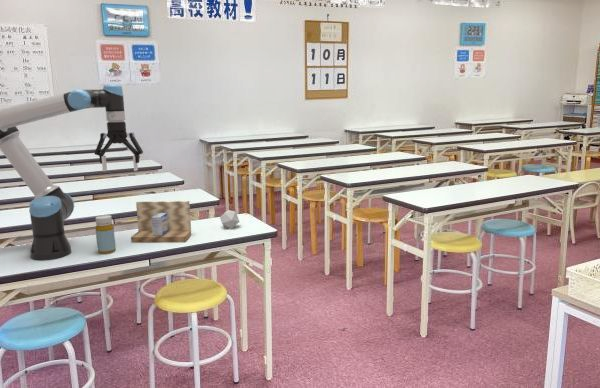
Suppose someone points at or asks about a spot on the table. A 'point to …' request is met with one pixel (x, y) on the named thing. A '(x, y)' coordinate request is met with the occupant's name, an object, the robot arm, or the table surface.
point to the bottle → (105, 234)
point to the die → (229, 219)
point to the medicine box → (159, 224)
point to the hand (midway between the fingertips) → (120, 170)
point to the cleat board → (176, 221)
